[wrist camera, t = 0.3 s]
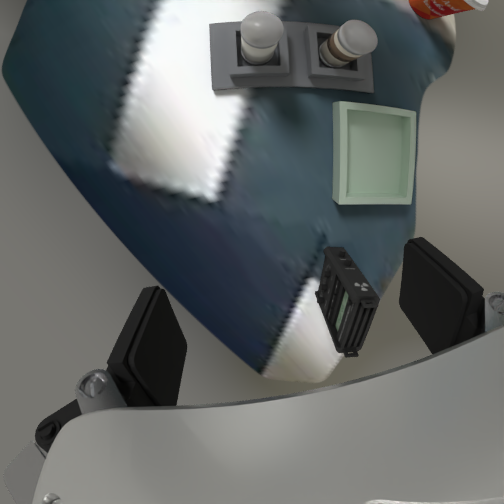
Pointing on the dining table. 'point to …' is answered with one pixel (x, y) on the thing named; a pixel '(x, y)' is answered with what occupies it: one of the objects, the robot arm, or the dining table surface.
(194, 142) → the dining table surface
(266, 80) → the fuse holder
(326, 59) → the fuse
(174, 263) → the dining table surface
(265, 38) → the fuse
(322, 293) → the geiger counter
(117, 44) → the dining table surface
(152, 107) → the dining table surface
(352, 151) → the parts tray
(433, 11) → the paper cup
